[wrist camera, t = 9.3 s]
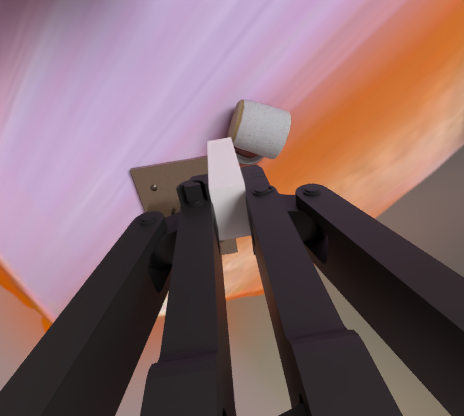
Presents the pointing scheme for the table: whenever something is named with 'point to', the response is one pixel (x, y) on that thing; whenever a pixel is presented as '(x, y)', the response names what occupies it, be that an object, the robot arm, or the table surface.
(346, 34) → the table surface
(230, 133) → the ceramic mug
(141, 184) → the hinge
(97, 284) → the robot arm
